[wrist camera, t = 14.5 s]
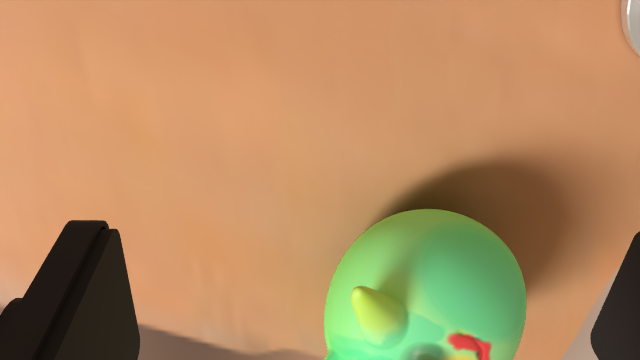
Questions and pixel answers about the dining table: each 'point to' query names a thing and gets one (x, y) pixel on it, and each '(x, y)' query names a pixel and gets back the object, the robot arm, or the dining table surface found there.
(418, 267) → the toy bird
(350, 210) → the dining table surface
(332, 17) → the dining table surface
